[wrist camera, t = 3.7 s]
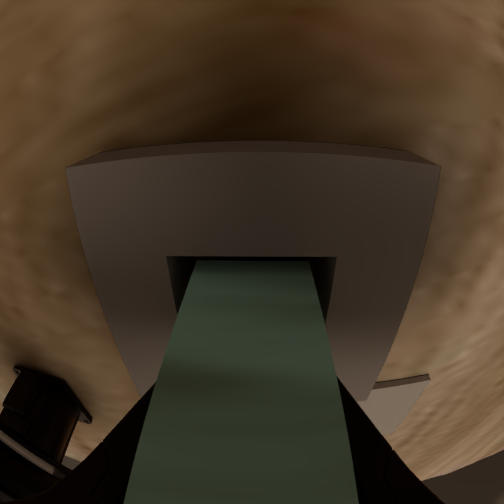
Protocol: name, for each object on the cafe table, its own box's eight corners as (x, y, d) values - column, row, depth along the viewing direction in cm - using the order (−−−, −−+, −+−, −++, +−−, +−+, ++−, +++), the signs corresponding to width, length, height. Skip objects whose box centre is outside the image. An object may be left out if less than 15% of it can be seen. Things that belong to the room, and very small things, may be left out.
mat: (391, 428, 20) (393, 433, 20) (303, 440, 20) (303, 445, 20) (428, 374, 16) (430, 379, 16) (319, 388, 17) (320, 394, 16)
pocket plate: (357, 366, 16) (366, 400, 13) (152, 363, 16) (141, 397, 14) (407, 151, 10) (440, 166, 8) (100, 152, 10) (65, 168, 8)
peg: (299, 340, 12) (319, 578, 4) (207, 339, 12) (169, 572, 4) (308, 261, 10) (366, 586, 2) (196, 260, 11) (110, 573, 2)
